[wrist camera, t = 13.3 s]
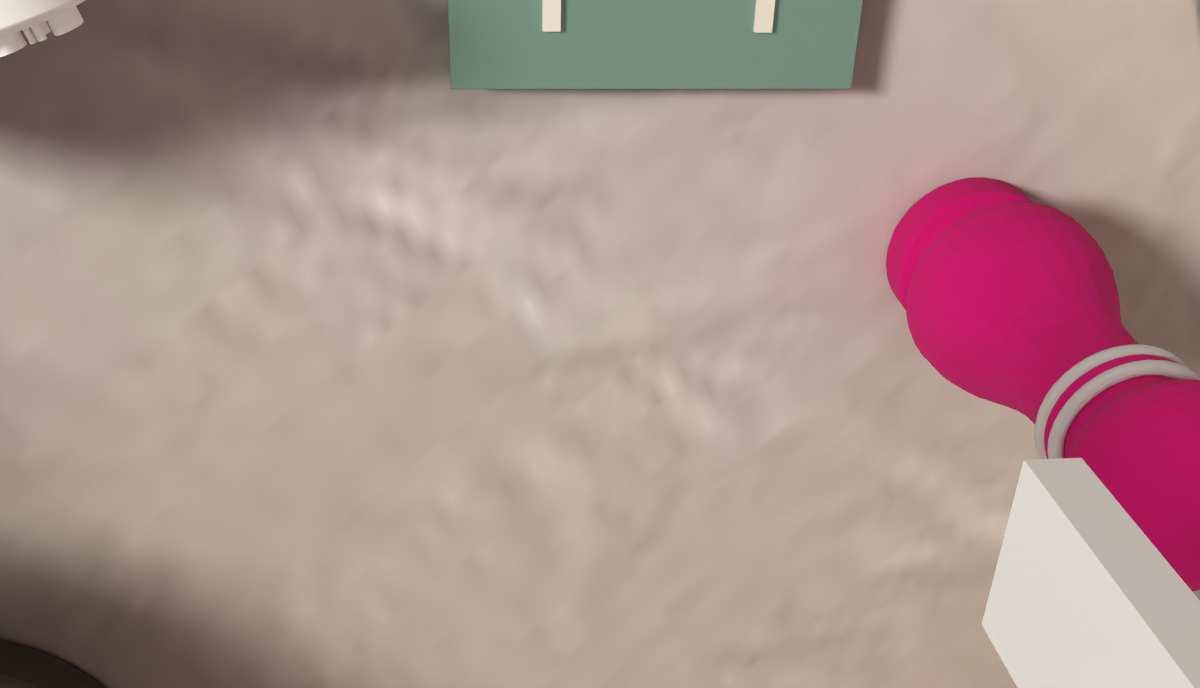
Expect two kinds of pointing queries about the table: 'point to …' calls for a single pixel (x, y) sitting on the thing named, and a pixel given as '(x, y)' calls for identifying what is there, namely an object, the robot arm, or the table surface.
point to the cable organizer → (35, 21)
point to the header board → (653, 44)
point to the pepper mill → (1053, 348)
